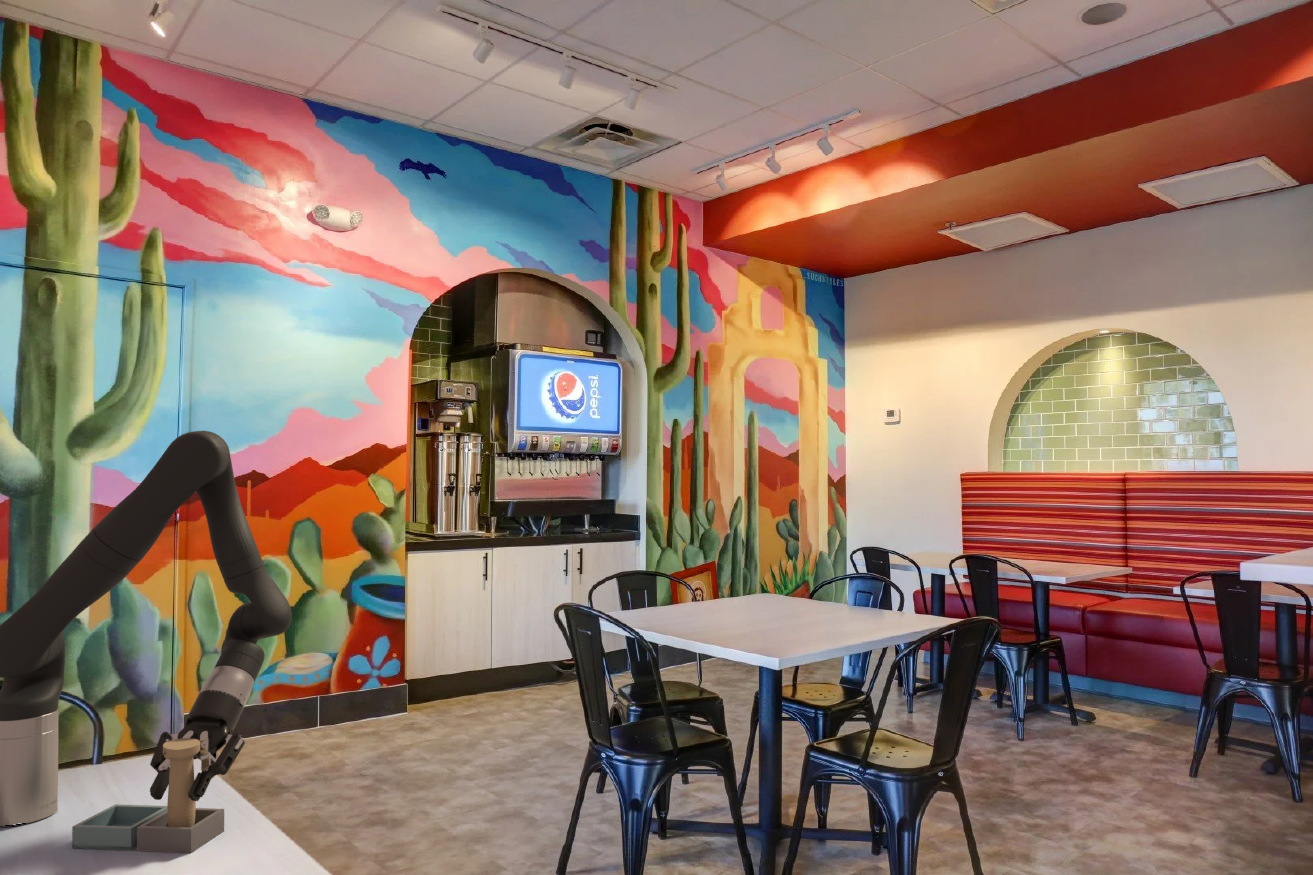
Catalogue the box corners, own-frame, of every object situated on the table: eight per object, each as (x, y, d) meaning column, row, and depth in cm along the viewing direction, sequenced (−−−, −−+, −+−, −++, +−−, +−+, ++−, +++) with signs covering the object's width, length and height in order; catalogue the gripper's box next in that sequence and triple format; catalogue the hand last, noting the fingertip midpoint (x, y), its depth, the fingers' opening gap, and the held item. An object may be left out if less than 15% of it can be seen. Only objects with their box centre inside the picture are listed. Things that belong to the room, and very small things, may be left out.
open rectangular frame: (136, 850, 132) (136, 827, 132) (172, 829, 140) (172, 807, 140) (191, 853, 131) (191, 829, 131) (224, 831, 139) (224, 808, 139)
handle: (172, 851, 131) (172, 751, 132) (157, 840, 136) (157, 743, 136) (205, 841, 135) (205, 744, 135) (190, 830, 139) (190, 736, 140)
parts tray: (72, 848, 133) (72, 826, 133) (115, 824, 142) (115, 804, 142) (130, 850, 132) (130, 828, 132) (170, 826, 141) (170, 806, 141)
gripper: (172, 687, 144) (118, 786, 132) (252, 688, 143) (205, 788, 130) (193, 711, 149) (143, 807, 137) (270, 712, 148) (227, 810, 135)
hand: (174, 797), depth 134 cm, fingers open, 5 cm apart
